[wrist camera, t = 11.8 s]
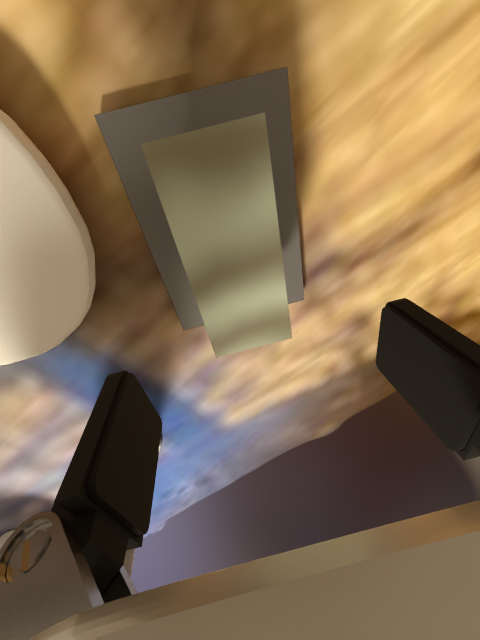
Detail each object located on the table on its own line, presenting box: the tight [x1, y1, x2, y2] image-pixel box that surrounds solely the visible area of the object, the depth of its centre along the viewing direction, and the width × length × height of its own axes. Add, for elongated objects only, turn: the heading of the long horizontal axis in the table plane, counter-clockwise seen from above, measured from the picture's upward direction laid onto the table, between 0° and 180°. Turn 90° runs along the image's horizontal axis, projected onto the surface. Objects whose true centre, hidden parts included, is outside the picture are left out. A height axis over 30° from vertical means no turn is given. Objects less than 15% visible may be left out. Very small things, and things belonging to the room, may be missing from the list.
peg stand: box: [94, 67, 304, 330], centre depth 25 cm, size 22×16×6 cm
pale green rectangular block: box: [140, 112, 292, 357], centre depth 20 cm, size 16×7×5 cm, turn 12°
